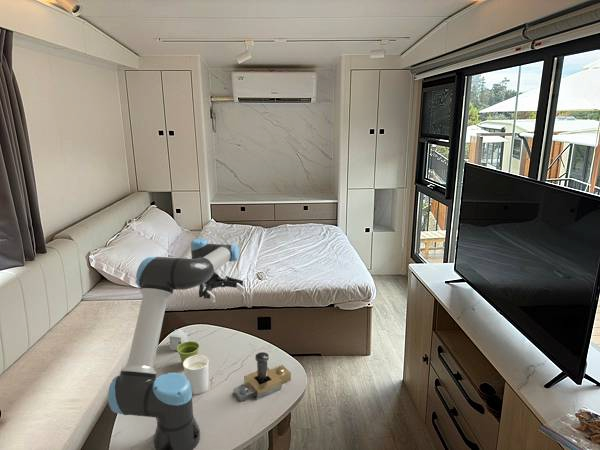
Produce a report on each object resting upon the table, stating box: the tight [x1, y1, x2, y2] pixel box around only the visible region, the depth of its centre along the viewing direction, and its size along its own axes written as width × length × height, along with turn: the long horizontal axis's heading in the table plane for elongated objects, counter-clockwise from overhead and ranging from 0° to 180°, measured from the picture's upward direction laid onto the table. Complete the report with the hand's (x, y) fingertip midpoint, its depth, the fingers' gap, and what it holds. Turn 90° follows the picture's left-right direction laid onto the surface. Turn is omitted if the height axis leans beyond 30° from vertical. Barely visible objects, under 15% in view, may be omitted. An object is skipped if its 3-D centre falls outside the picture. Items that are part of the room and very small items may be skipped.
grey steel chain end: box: [232, 380, 282, 403], centre depth 167 cm, size 17×11×3 cm, turn 125°
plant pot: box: [176, 340, 200, 366], centre depth 182 cm, size 9×9×9 cm
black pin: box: [255, 351, 270, 384], centre depth 167 cm, size 5×5×14 cm
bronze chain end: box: [243, 364, 292, 395], centre depth 170 cm, size 17×11×4 cm, turn 125°
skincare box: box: [169, 329, 189, 351], centre depth 195 cm, size 6×6×7 cm
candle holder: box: [182, 354, 210, 396], centre depth 166 cm, size 10×10×12 cm
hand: (229, 295), depth 172 cm, fingers open, 13 cm apart
